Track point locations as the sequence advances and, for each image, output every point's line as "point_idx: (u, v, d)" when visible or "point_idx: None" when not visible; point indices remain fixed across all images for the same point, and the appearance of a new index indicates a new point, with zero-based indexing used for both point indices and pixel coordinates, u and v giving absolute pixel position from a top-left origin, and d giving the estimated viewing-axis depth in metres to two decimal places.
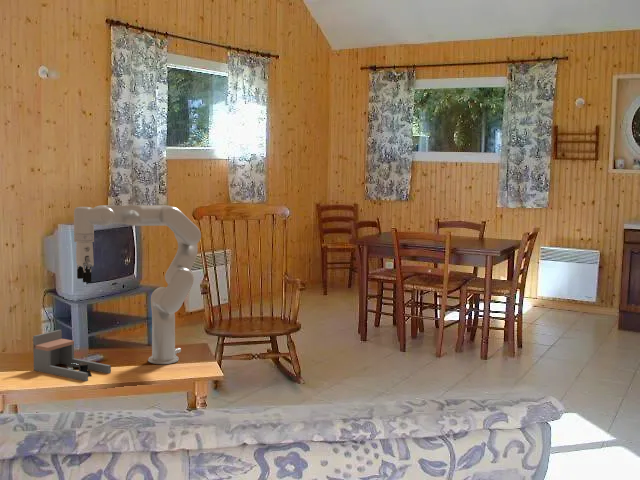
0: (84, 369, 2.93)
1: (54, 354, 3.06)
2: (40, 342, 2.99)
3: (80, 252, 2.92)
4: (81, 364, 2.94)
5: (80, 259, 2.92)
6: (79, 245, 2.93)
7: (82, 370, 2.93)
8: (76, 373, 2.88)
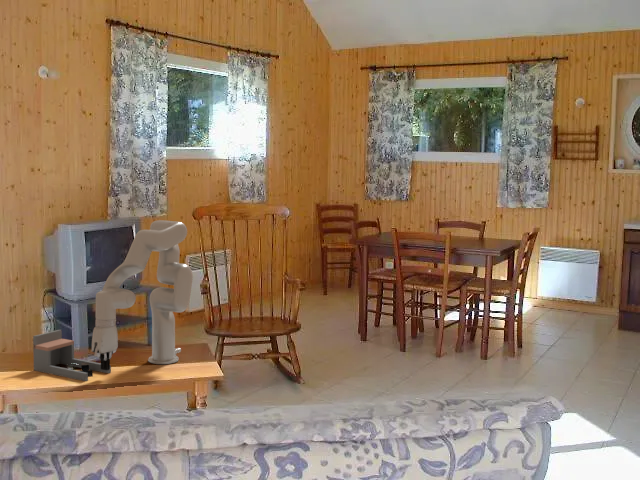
0: (85, 369, 2.94)
1: (54, 354, 3.06)
2: (40, 342, 2.99)
3: (116, 335, 2.90)
4: (83, 364, 2.95)
5: (115, 342, 2.90)
6: (114, 329, 2.89)
7: (83, 370, 2.93)
8: (76, 373, 2.88)
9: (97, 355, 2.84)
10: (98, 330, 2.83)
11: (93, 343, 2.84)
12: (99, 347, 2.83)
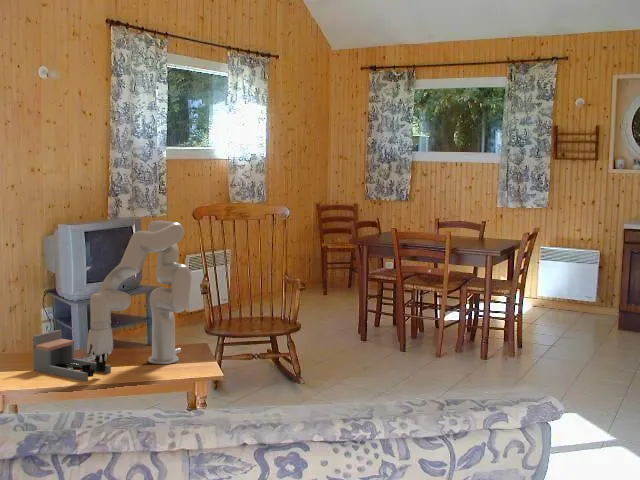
0: (86, 369, 2.94)
1: (54, 354, 3.06)
2: (40, 342, 2.99)
3: (111, 337, 2.92)
4: (84, 364, 2.95)
5: (111, 344, 2.92)
6: (109, 331, 2.90)
7: (84, 370, 2.94)
8: (76, 373, 2.88)
9: (92, 357, 2.86)
10: (93, 332, 2.85)
11: (88, 345, 2.86)
12: (94, 349, 2.85)
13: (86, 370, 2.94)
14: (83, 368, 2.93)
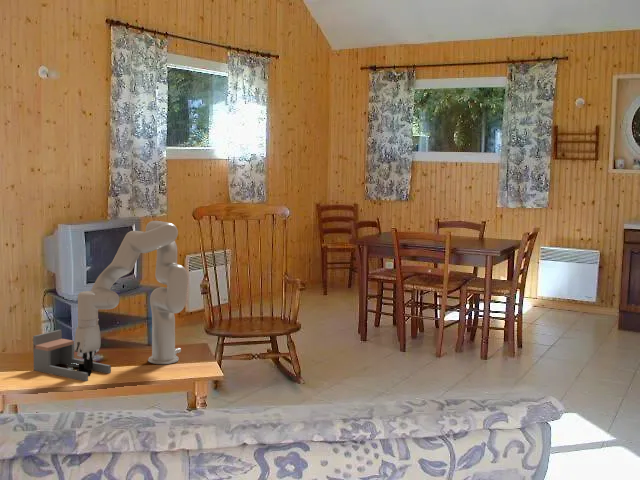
0: (83, 368, 2.95)
1: (54, 354, 3.06)
2: (40, 342, 2.99)
3: (98, 335, 2.95)
4: (81, 363, 2.96)
5: (98, 342, 2.95)
6: (97, 329, 2.93)
7: (81, 369, 2.95)
8: (76, 373, 2.88)
9: (80, 355, 2.89)
10: (81, 330, 2.88)
11: (76, 343, 2.89)
12: (82, 347, 2.88)
13: (83, 369, 2.95)
14: (80, 367, 2.95)
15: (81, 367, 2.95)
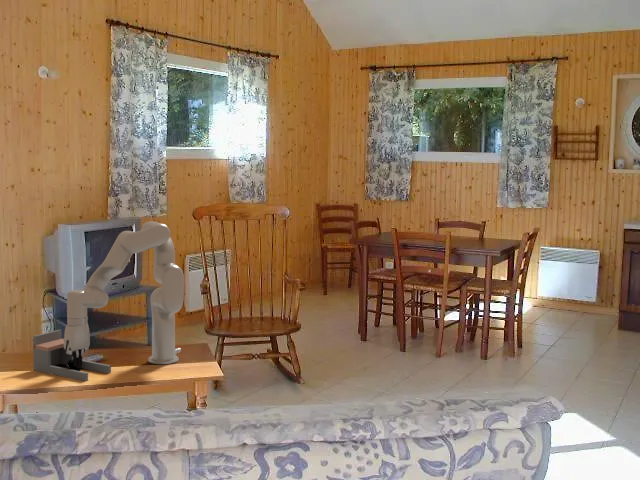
0: (71, 366, 2.97)
1: (54, 354, 3.06)
2: (40, 342, 2.99)
3: (88, 333, 2.97)
4: (70, 361, 2.98)
5: (87, 340, 2.97)
6: (86, 327, 2.96)
7: (69, 367, 2.97)
8: (76, 373, 2.88)
9: (69, 352, 2.91)
10: (70, 328, 2.90)
11: (65, 341, 2.91)
12: (71, 345, 2.90)
13: (71, 367, 2.97)
14: (68, 365, 2.97)
15: (70, 365, 2.97)
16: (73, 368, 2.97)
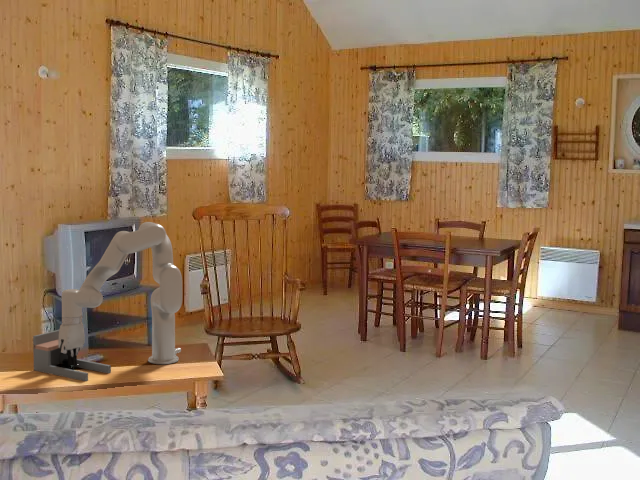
0: (66, 365, 2.98)
1: (54, 354, 3.06)
2: (40, 342, 2.99)
3: (82, 332, 2.99)
4: (64, 360, 2.99)
5: (82, 339, 2.99)
6: (80, 326, 2.97)
7: (64, 366, 2.98)
8: (76, 373, 2.88)
9: (64, 351, 2.93)
10: (64, 327, 2.92)
11: (60, 340, 2.93)
12: (65, 344, 2.92)
13: (66, 366, 2.98)
14: (63, 364, 2.98)
15: (64, 364, 2.98)
16: (68, 367, 2.98)
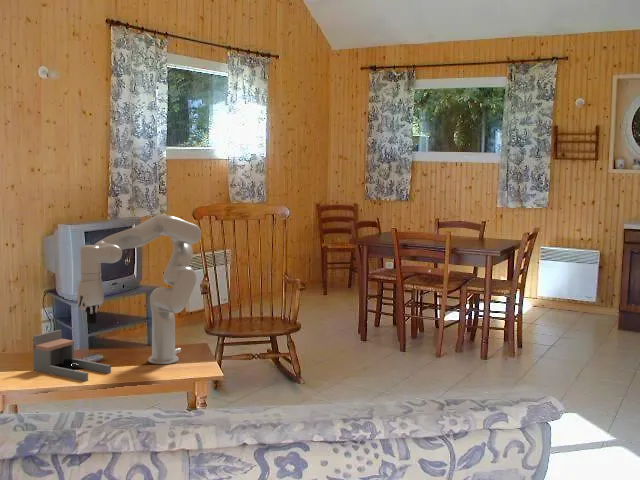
0: (67, 365, 2.98)
1: (54, 354, 3.06)
2: (40, 342, 2.99)
3: (101, 289, 2.92)
4: (65, 360, 3.00)
5: (101, 296, 2.92)
6: (100, 283, 2.91)
7: (65, 366, 2.98)
8: (76, 373, 2.88)
9: (83, 308, 2.86)
10: (83, 283, 2.85)
11: (79, 296, 2.86)
12: (85, 300, 2.85)
13: (67, 366, 2.98)
14: (64, 364, 2.98)
15: (65, 364, 2.98)
16: (69, 367, 2.99)
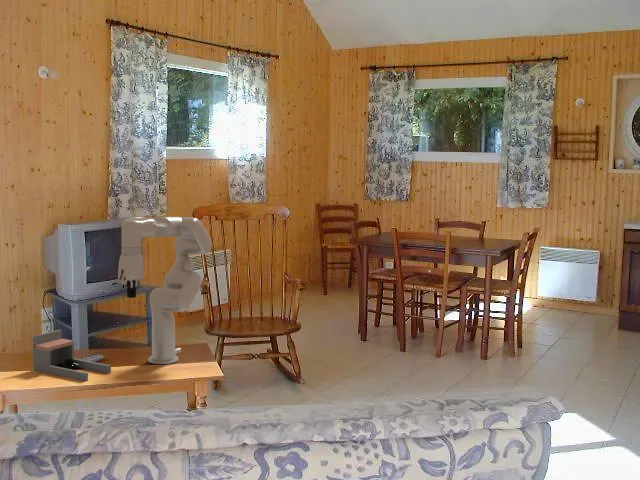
0: (68, 365, 2.98)
1: (54, 354, 3.06)
2: (40, 342, 2.99)
3: (141, 264, 2.94)
4: (66, 360, 3.00)
5: (141, 271, 2.94)
6: (140, 258, 2.93)
7: (66, 366, 2.98)
8: (76, 373, 2.88)
9: (124, 282, 2.88)
10: (124, 257, 2.88)
11: (120, 270, 2.89)
12: (126, 274, 2.87)
13: (68, 366, 2.98)
14: (65, 364, 2.98)
15: (67, 364, 2.98)
16: (70, 367, 2.99)
